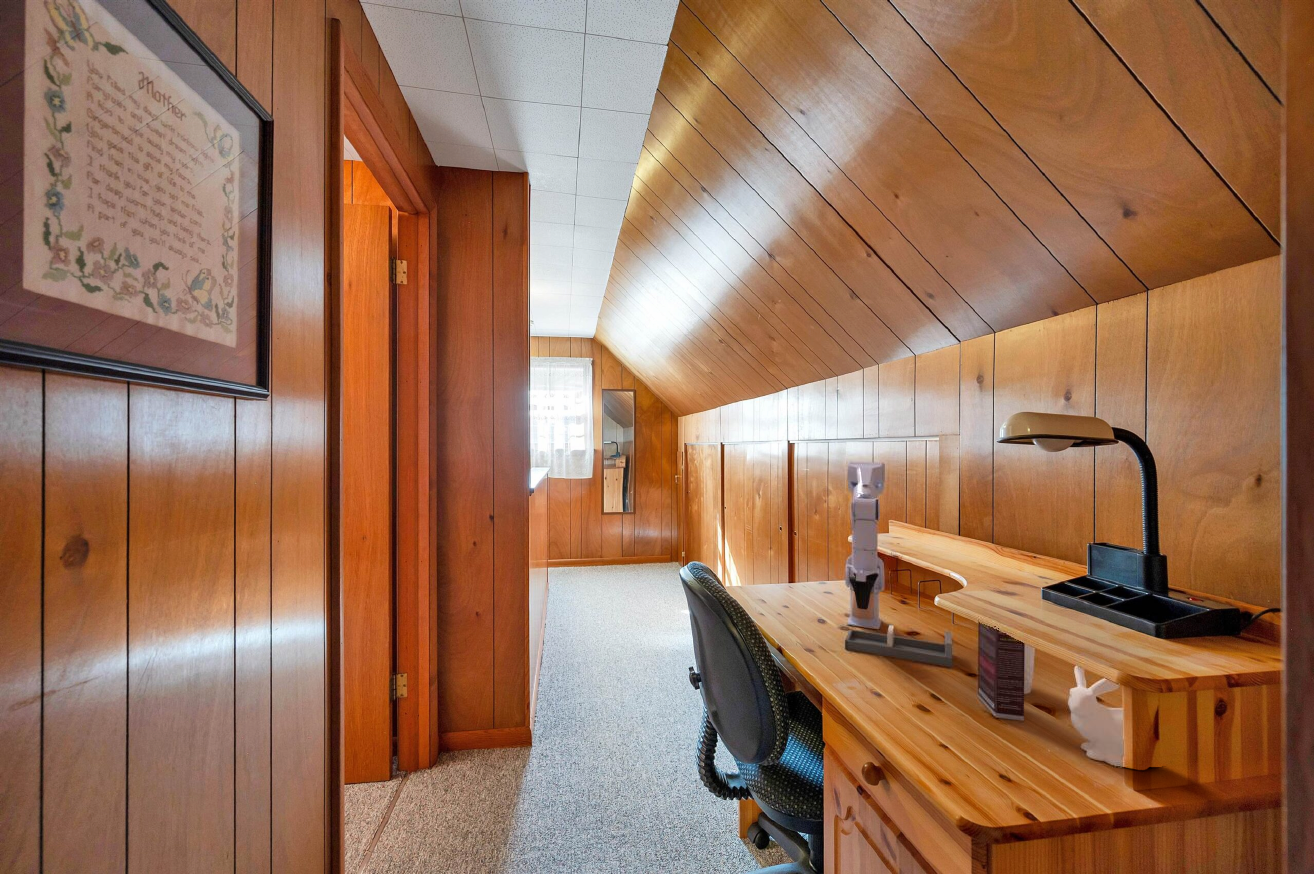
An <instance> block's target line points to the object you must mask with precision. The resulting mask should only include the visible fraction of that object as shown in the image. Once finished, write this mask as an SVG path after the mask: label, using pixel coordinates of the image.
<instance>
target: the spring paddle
mask: <svg viewBox="0 0 1314 874" xmlns="http://www.w3.org/2000/svg"><path fill="white" fill-rule="evenodd" d="M894 634H895V627H894V625H891V624H889V625H888V629H887V634H886V635H887V647H893V644H894V636H895V635H894Z"/></svg>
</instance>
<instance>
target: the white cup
mask: <svg viewBox="0 0 1314 874" xmlns="http://www.w3.org/2000/svg"><path fill="white" fill-rule="evenodd" d="M1035 649H1036V647H1035V648H1033V647H1031V646H1029V645H1027V644H1025V661H1024V695H1028V694H1030V693H1032V690H1033V689H1032V688H1033V687H1032V686H1033V677H1034V667H1035V666H1034V665H1035Z"/></svg>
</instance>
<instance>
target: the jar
mask: <svg viewBox="0 0 1314 874" xmlns="http://www.w3.org/2000/svg"><path fill="white" fill-rule="evenodd" d="M852 616H853V617H855V618H858V619H864V620H871V619H874V618H875V588H874V587H873V588H872V590H871V594H870V600H869V605H868V608H867V610H865V609H858V607H857V603H856V597H855V593H854V589H853V587H852Z"/></svg>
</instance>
